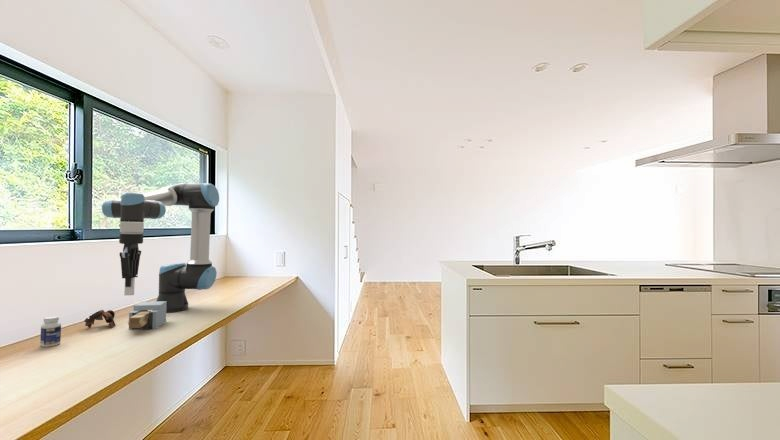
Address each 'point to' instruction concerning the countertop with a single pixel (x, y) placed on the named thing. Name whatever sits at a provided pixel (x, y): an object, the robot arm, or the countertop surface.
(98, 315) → the brown curved piece
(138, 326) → the peg
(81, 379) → the countertop surface
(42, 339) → the pill bottle
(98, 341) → the countertop surface
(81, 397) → the countertop surface
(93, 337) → the countertop surface
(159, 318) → the sleeve block
